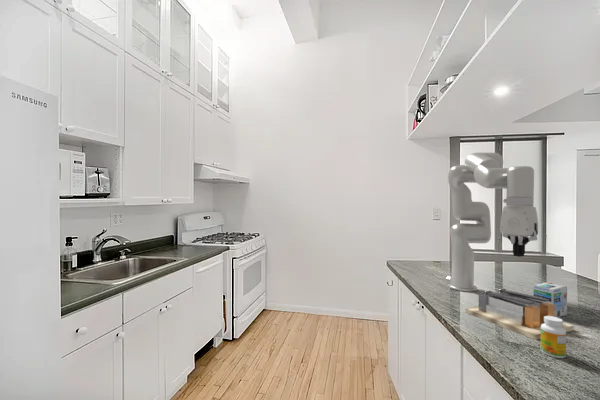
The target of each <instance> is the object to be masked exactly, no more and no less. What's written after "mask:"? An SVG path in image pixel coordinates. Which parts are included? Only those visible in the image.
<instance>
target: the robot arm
mask: <svg viewBox="0 0 600 400" xmlns="http://www.w3.org/2000/svg"><path fill="white" fill-rule="evenodd" d="M503 165H504V159H503V156H502V155H501V154H500V153H498V152H473V153H471V154H469V155H467V157H466V158H465V160H464V164H459V165H455V166H452V167H451V168H450V169H449V170H448V175H447V180H448V184H449V189H450V191H451V204H452V206H451V207H452V217H453V218H454V219H455V220H456V221H464V223H461V222H460V223H455V224H452V226H451V227H450V230H449V235H450V239H451V240H450V241H451V242H450V243H451V275H447V277H446V278H445V280H446V281H448V282H449V283H448V284H447V286H448V288H450V289H452V290H455V291H459V292H468V293H469V292H473V293H474V292H476V291H478V286H476V285H474V284H475V283H474V281H475V253H474V250H473V248H472V247H471V246H470V244H487V243H489V242H490V241H491V237H492V228H491V227H492V226H491V212H490V207H489V205H488V204H487V203H486V202H483V201H474V200H472V190H471V189H470V188H469V187H468V185H466V183H470V184H472V183H473V184H475V183H476V184H478V185H479V186H480V187H482V188H486V189H503V190H504V189H506V198H504V199H503V201H502V202H503V203H505V204H506V206H505V205H504V206H503V209H502V211H501V218H500V225H499V227H500V228H499V229H500V230H499V231H500V233H501V234H502V235H501V236H502V237H503V238H506V239H508V241H510V244H511V245H512V253H513V256H514V257H518V258H519V257H524V256H525V253H526V245H528V243H529V242H533V241H538V234H539V219H538V212H537V208H536V206H534V200H535V199H534V194H535V193H534V191H535V169H534V168H533V167H532V166H527V165H519V166H517V165H516V166H511V167H508V168H507V167H503ZM465 221H466V222H468V223H465ZM470 221H471V222H476V223H469V222H470Z"/></svg>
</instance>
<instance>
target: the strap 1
mask: <svg viewBox="0 0 600 400" xmlns="http://www.w3.org/2000/svg"><path fill="white" fill-rule="evenodd" d="M483 294H485V295H492V296H496V297H500V298H505V299H509V300H513V301H517V302H521V303H525V304H530V305H531V304H535V302H533V301H528V300H524V299H520V298H515V297H511V296H507V295H502V294H498V293H495V292H493V291H491V290H486V291H484V292H483Z"/></svg>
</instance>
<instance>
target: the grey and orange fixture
mask: <svg viewBox="0 0 600 400" xmlns="http://www.w3.org/2000/svg"><path fill="white" fill-rule="evenodd" d="M494 293H498V294H502V295H507V296H511V297H515V298H520V299H524V300H528V301H533V302H535V304H531V305H530V304H525V303H521V302H517V301H513V300H509V299H505V298H500V297H496V296H492V295H485V294H484V293H482V294H478V306H479V311H482V312H485V313H488V314H490V315H493V316H496V317H499V318H501V319H504V320H507V321H510V322H512V323H515V324H518V325H521V326H523V325H525V326H527V327H530V328H537V327H540V323H543V324H544V323H545V322H544V316H553V317H555V305H554V304H550V303H545V302H542V301H538V300H534V299H530V298H525V297H521V296H517V295H512V294H508V293H503V292H502V293H499V291H495V292H494Z"/></svg>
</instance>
